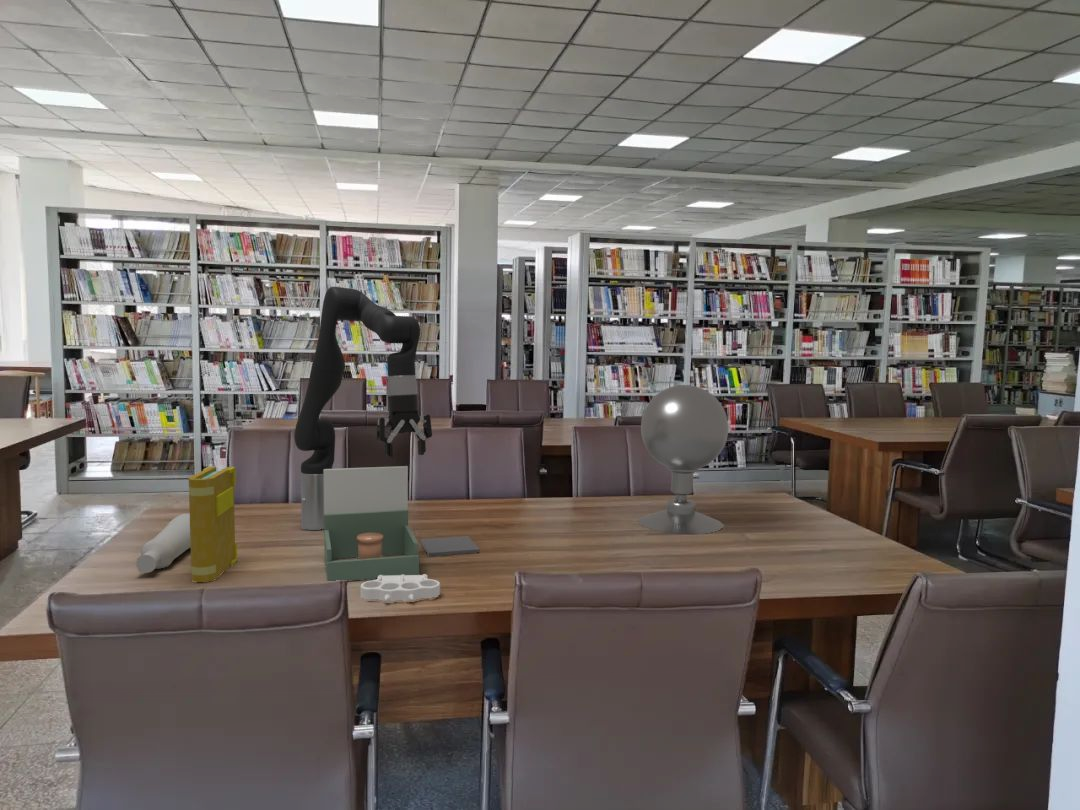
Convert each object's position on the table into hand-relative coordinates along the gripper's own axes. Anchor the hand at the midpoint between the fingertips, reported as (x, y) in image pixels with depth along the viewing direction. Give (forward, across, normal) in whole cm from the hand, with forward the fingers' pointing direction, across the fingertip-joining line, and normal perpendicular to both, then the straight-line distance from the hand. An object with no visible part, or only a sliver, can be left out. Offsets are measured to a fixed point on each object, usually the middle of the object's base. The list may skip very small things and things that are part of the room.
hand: (405, 456), depth 193 cm
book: (+26, +44, -20) cm, 55 cm away
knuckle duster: (+31, +10, +17) cm, 37 cm away
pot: (+28, +9, -5) cm, 30 cm away
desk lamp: (+30, -94, 0) cm, 99 cm away
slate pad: (+28, -16, -11) cm, 34 cm away
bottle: (+25, +52, -37) cm, 69 cm away
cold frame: (+28, +9, -5) cm, 30 cm away
